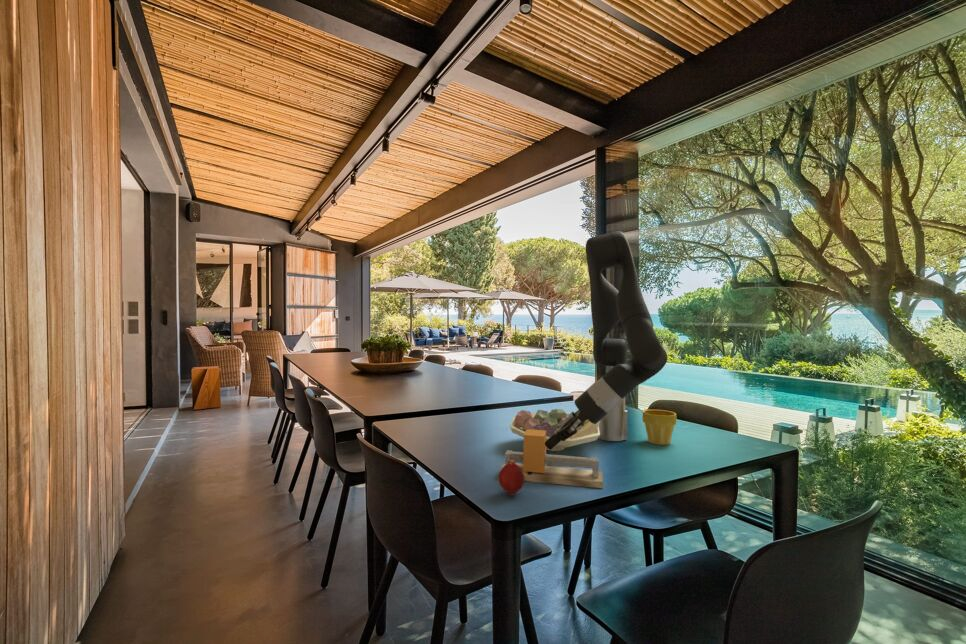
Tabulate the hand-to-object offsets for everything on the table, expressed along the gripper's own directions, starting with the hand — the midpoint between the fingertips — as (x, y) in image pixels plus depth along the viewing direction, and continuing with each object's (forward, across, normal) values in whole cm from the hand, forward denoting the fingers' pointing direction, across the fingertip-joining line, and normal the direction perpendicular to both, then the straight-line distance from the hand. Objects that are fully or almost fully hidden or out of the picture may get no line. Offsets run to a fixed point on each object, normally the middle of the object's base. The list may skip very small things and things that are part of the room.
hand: (547, 446), depth 116 cm
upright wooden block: (+6, 0, +2) cm, 7 cm away
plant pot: (-17, -42, +29) cm, 54 cm away
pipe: (+4, 0, +5) cm, 6 cm away
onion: (+10, +14, +1) cm, 17 cm away
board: (+5, 0, +6) cm, 8 cm away
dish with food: (+6, -26, +6) cm, 27 cm away
